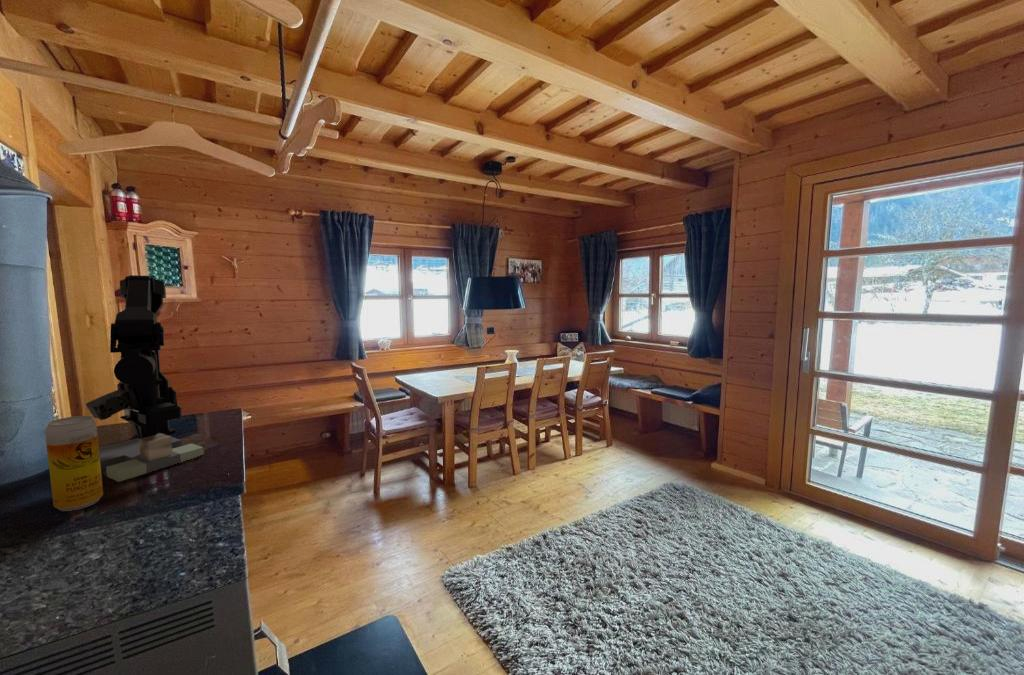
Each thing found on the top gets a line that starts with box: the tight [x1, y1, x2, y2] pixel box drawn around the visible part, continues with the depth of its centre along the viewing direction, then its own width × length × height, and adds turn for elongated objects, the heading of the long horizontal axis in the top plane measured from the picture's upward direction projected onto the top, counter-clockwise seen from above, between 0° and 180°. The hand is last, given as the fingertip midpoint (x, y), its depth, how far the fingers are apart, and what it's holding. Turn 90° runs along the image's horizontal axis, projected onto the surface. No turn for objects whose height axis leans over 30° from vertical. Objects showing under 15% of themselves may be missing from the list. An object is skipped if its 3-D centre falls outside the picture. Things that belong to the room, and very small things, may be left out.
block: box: [139, 434, 173, 461], centre depth 90 cm, size 4×4×4 cm
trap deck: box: [99, 433, 205, 483], centre depth 93 cm, size 20×15×2 cm
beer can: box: [44, 415, 104, 512], centre depth 73 cm, size 6×6×15 cm
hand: (146, 446), depth 92 cm, fingers closed
